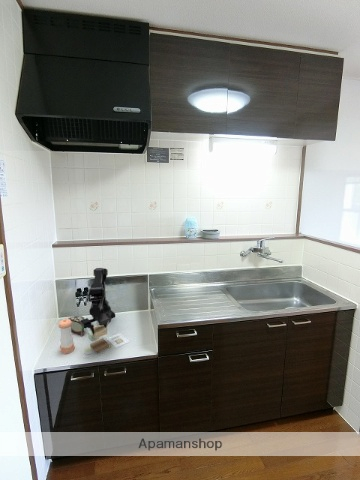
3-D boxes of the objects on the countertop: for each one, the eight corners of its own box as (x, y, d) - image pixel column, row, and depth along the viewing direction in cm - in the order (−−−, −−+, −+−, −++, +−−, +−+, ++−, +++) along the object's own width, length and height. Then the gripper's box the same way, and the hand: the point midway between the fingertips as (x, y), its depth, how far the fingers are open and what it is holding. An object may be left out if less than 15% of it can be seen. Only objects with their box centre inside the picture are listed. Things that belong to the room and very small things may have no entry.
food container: (90, 332, 162) (89, 317, 160) (83, 337, 156) (82, 322, 154) (76, 327, 167) (75, 313, 165) (68, 332, 162) (67, 318, 159)
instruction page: (106, 338, 155) (106, 338, 155) (119, 333, 161) (119, 332, 161) (115, 347, 146) (115, 347, 146) (129, 341, 152) (129, 341, 152)
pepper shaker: (70, 344, 149) (67, 314, 145) (76, 349, 145) (74, 319, 141) (58, 350, 144) (55, 319, 140) (64, 355, 139) (61, 324, 135)
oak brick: (91, 333, 146) (91, 328, 145) (102, 329, 150) (101, 323, 149) (96, 338, 141) (96, 332, 140) (107, 334, 145) (106, 328, 144)
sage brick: (88, 337, 156) (88, 332, 155) (95, 335, 159) (95, 329, 158) (91, 341, 153) (91, 335, 152) (98, 338, 156) (98, 332, 155)
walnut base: (90, 347, 147) (90, 343, 147) (103, 341, 153) (102, 338, 152) (96, 354, 142) (96, 350, 141) (109, 347, 147) (109, 344, 147)
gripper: (87, 318, 130) (89, 345, 133) (119, 307, 142) (120, 331, 146) (78, 310, 138) (81, 335, 141) (110, 300, 150) (111, 324, 154)
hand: (99, 332), depth 145 cm, fingers closed on oak brick, 6 cm apart
